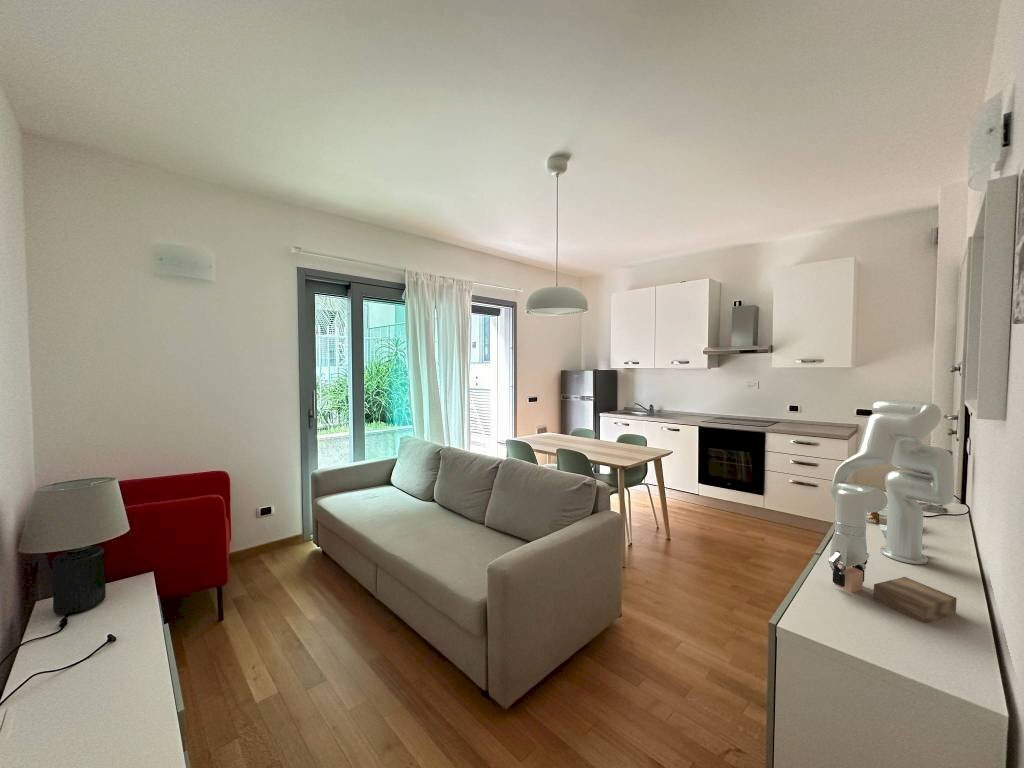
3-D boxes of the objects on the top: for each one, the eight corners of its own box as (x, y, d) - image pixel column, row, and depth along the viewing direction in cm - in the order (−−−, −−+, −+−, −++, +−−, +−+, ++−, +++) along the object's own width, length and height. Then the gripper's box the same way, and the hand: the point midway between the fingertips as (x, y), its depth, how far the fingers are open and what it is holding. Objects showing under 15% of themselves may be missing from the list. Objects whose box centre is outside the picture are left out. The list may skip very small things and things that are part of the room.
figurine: (909, 543, 159) (910, 506, 158) (876, 537, 165) (878, 501, 164) (906, 537, 165) (907, 501, 164) (875, 531, 171) (876, 496, 170)
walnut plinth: (904, 592, 127) (904, 576, 126) (955, 614, 115) (956, 597, 115) (873, 600, 122) (873, 584, 122) (923, 624, 111) (924, 606, 111)
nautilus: (855, 524, 180) (852, 516, 192) (923, 533, 167) (915, 523, 179) (854, 506, 180) (851, 499, 192) (922, 513, 167) (914, 505, 179)
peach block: (845, 581, 132) (845, 563, 132) (862, 589, 127) (863, 571, 127) (834, 584, 131) (834, 566, 130) (851, 592, 126) (851, 573, 126)
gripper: (856, 520, 134) (854, 572, 135) (818, 527, 129) (816, 580, 130) (882, 529, 127) (880, 583, 128) (843, 537, 122) (841, 593, 123)
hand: (848, 582), depth 129 cm, fingers open, 8 cm apart
